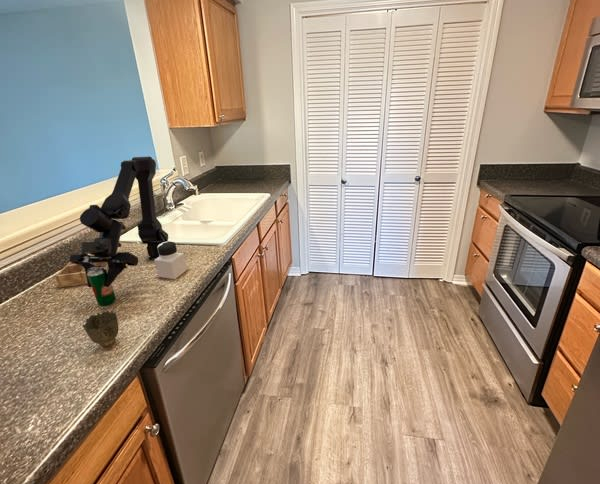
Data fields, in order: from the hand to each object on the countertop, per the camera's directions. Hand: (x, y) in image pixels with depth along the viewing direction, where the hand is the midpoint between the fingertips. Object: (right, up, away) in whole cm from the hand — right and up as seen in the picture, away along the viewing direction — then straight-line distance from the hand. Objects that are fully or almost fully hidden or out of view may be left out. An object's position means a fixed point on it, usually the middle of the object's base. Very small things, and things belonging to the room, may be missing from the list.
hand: (98, 287), depth 96 cm
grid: (-17, +2, +25) cm, 30 cm away
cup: (+10, -13, -12) cm, 20 cm away
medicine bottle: (+14, +2, +21) cm, 26 cm away
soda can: (0, -6, +4) cm, 7 cm away
